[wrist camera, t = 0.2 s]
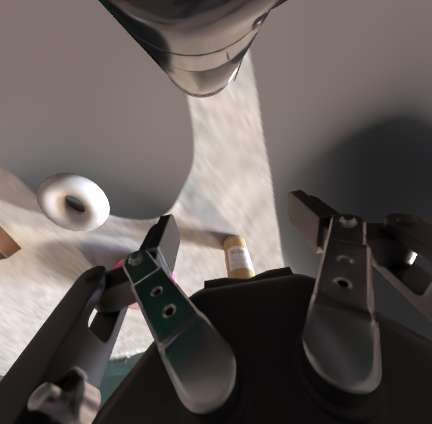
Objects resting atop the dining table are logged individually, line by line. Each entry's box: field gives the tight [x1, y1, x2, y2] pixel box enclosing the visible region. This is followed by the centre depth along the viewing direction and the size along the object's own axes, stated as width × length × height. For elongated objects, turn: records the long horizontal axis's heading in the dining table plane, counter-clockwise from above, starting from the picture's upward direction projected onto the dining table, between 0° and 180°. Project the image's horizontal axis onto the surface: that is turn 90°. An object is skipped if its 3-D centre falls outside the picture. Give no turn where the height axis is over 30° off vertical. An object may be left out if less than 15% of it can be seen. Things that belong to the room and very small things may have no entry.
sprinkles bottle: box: [223, 236, 255, 279], centre depth 29 cm, size 5×5×14 cm
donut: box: [37, 173, 109, 232], centre depth 28 cm, size 10×4×10 cm
